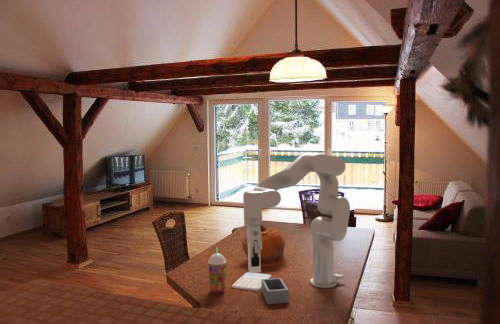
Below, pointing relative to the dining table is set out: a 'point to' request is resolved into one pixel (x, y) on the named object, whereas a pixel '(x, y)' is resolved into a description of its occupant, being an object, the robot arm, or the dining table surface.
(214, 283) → the smoothie
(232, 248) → the dining table surface
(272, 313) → the dining table surface
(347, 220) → the robot arm
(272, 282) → the grey open box
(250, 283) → the calculator
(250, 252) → the post
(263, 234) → the pumpkin
